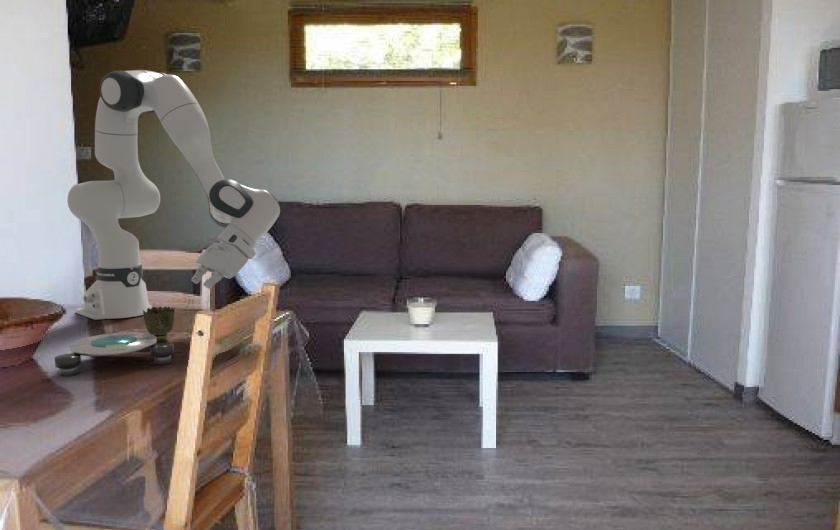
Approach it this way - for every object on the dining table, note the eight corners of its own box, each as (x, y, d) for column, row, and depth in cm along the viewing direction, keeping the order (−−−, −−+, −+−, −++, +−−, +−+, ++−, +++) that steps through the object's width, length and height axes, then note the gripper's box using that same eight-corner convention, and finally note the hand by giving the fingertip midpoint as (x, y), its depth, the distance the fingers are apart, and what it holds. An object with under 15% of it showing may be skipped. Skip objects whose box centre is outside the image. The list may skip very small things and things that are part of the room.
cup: (166, 344, 181) (164, 312, 180) (139, 343, 183) (136, 311, 182) (181, 337, 189) (180, 306, 187) (155, 336, 190) (153, 305, 189)
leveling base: (27, 368, 162) (25, 343, 161) (119, 345, 181) (117, 323, 180) (91, 386, 149) (88, 359, 148) (183, 360, 167) (181, 336, 166)
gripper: (212, 232, 201) (178, 271, 197) (240, 239, 184) (204, 282, 180) (229, 247, 204) (195, 286, 200) (258, 255, 187) (222, 297, 183)
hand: (199, 284), depth 190 cm, fingers open, 8 cm apart
